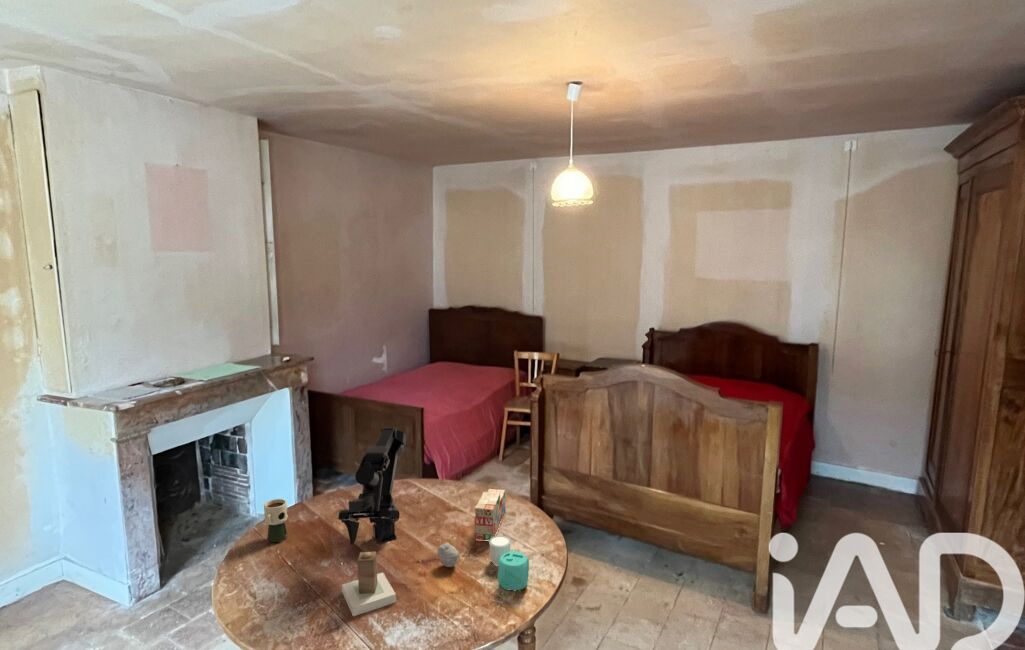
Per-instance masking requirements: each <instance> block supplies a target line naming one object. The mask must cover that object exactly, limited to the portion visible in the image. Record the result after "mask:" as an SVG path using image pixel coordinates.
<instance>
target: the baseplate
mask: <svg viewBox="0 0 1025 650" xmlns="http://www.w3.org/2000/svg"><path fill="white" fill-rule="evenodd" d="M341 590H342V595H343V597H344V599H345V600H344V601H346V604H347V605H348V608H349V610H350V613H351V614H352V617H356V616H359V615H362V614H365V613H368V612H371V611H374V610H377V609H380V608H383V607H386V606H390V605H391V604H392V605H393V604H395V603H397V593H396V592H395V591H394V589H393V587H392V585H391V584H390V581H389V580H388V579H387V577H386V575H385V573H384V572H380V573H377V587H376V591H375V593H369V594H359V583H358V579H357V580H352V581H350V582H349V581H348V582H347V583H343V584H341Z"/></svg>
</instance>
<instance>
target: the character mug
mask: <svg viewBox="0 0 1025 650" xmlns="http://www.w3.org/2000/svg"><path fill="white" fill-rule="evenodd" d="M263 510H264V511H263V512H264V521H265V524H266V525H268V527H267V540H268V542H274V543H279V542H282V541H284V540H286V537H287V536H288V531H287V530H288V529H287V526H286V523H285V522H286V521H287V520H288V517H289V516H288V513H287V512H288V503H287V500H286V499H284V498H274V499H271V500H268V501H266V502H265V503H264V504H263Z"/></svg>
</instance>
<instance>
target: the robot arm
mask: <svg viewBox="0 0 1025 650" xmlns="http://www.w3.org/2000/svg"><path fill="white" fill-rule="evenodd" d="M406 444H407V435H406V433H405V432H404V431H401V430H399V429H398V428H397V427H389V426H388V427H382V428H381V431H380V434H379V436H378V439H377V441H376V443H375V445H374V446H373V447H371V448H369V449H368V450H367V451H366V452H365V454H364V455H363V457H362V459H361V462H360V464H359V465H358V469H357V470H356V472H355V475H354V476H355V481H356V483H358V485H360V486H362V491H361V493H359V494H358V498H355V499H352V500H349V501H348V509H341V510H340V511H339V513H338V517H337V520H340V521H341V523H343V524H344V525H345V527H346V528H347V533H348V537H349V543H350V545H351V546H355V544H356V540H357V535H358V531H359V527H360V522H359V520H360V519H369V522H370V523H371V524H372V523H373V524H372V536H373V538H374V539H375V540H376V545H381V543H384V542H388V541H391V540H395V539H397V535H396V532H395V531H396V529H395V523H396V522H397V521H399V520H400V511H399V509H398V508H397V506H396V504H395V500H394V498H393V495H392V494H393V487H394V482H395V478H396V477H395V476H396V470H397V464H398V457H400V455H401V454H402V453H403V452H404V449H405V448H404V447H405V446H406Z"/></svg>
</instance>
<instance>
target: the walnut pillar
mask: <svg viewBox="0 0 1025 650" xmlns="http://www.w3.org/2000/svg"><path fill="white" fill-rule="evenodd" d="M377 566H378V565H377V551H375V550H374V551H360V552H359V556H358V558H357V577H358V579H357V580H358V583H359V594H369V593H375V591H376V587H377V574H378V570H377V569H378V568H377Z"/></svg>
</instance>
